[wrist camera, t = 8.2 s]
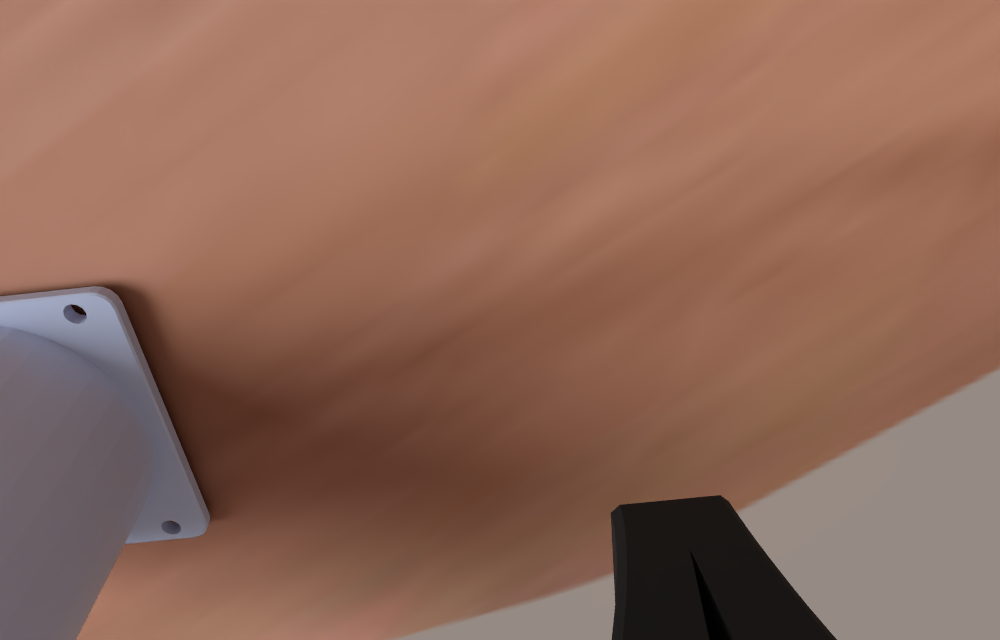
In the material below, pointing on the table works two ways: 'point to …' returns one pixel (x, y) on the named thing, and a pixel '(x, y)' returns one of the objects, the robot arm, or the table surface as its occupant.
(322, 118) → the table surface
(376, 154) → the table surface
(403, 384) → the table surface
